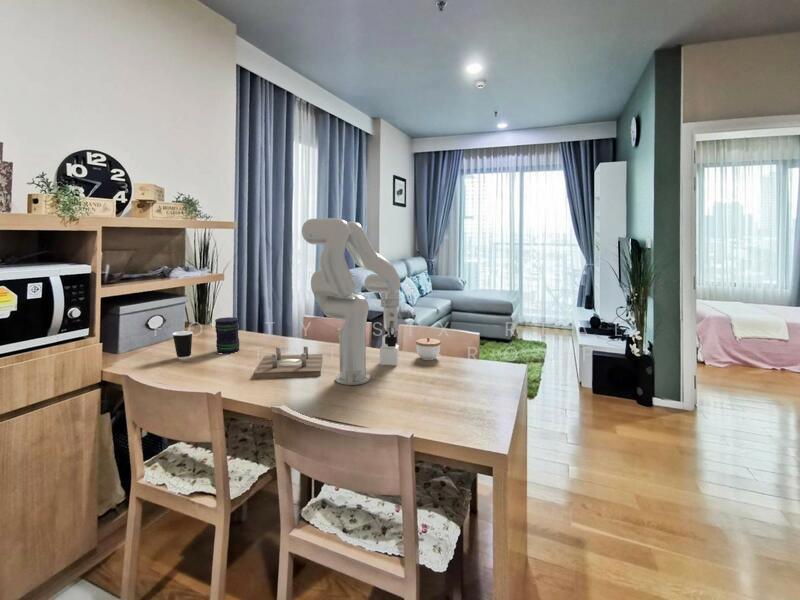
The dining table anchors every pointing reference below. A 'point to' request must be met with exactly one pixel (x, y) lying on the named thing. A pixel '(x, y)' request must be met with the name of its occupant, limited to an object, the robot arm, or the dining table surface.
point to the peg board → (289, 365)
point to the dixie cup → (183, 343)
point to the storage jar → (227, 335)
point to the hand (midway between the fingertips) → (390, 343)
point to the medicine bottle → (389, 352)
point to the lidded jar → (428, 348)
